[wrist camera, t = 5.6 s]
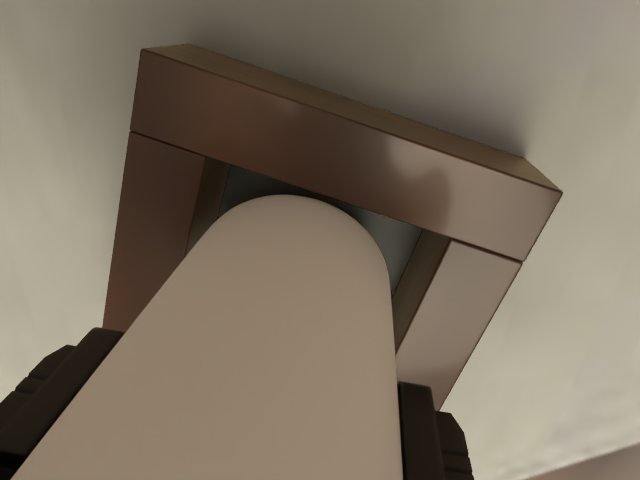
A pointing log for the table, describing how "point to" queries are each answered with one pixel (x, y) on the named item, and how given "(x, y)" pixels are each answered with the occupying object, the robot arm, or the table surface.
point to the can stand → (329, 180)
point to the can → (247, 363)
